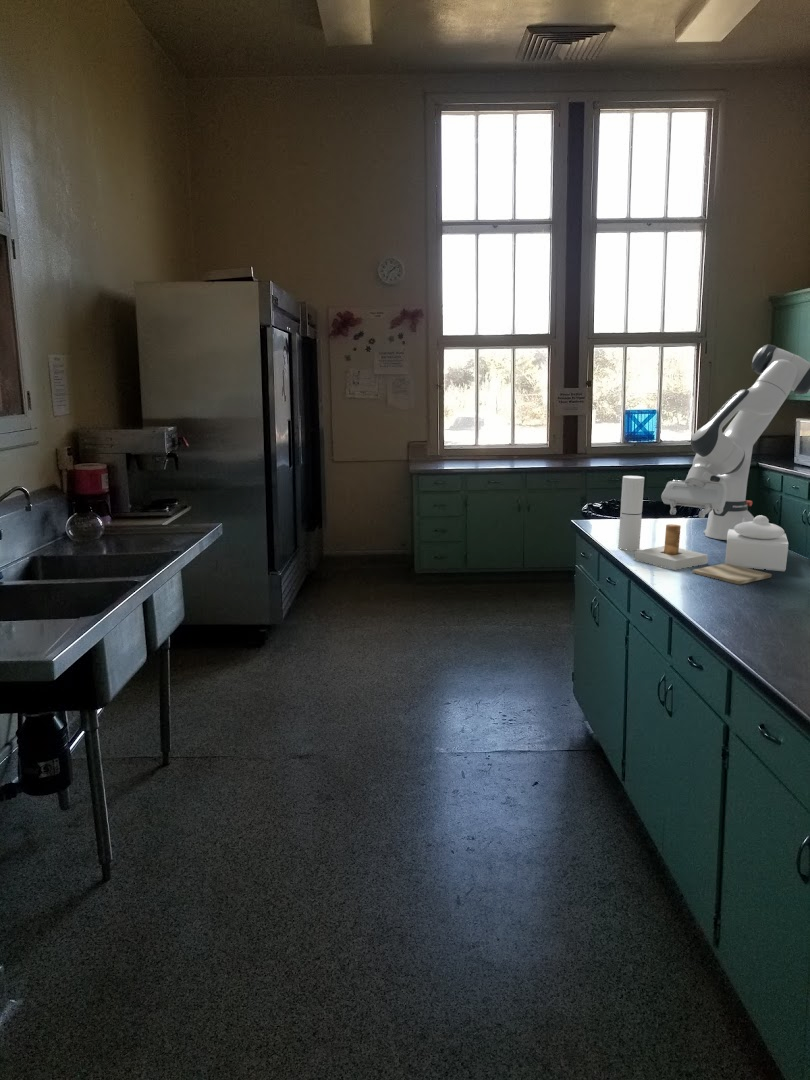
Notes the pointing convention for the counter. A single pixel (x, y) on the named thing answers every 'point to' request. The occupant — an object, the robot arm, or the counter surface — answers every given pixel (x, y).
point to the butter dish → (757, 545)
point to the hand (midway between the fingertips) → (686, 515)
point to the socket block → (671, 558)
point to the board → (732, 573)
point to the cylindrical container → (631, 512)
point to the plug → (672, 539)
